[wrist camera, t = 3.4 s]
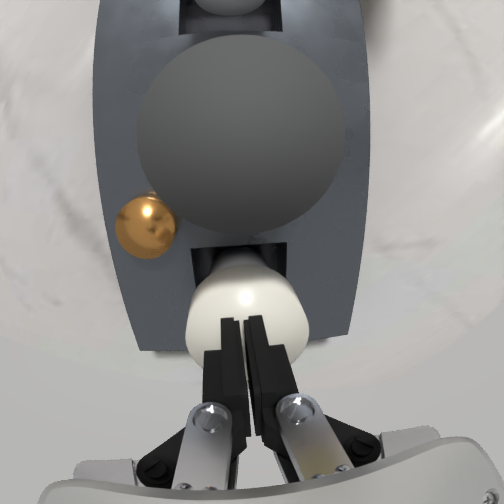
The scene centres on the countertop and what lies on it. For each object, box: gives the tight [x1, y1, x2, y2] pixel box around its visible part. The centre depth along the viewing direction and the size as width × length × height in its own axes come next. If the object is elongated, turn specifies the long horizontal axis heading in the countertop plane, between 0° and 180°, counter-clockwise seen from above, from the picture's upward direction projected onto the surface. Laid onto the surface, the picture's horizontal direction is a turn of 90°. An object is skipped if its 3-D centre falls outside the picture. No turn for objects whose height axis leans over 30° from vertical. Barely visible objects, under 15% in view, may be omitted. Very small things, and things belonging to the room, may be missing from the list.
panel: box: [93, 0, 370, 351], centre depth 13 cm, size 25×14×4 cm, turn 2°
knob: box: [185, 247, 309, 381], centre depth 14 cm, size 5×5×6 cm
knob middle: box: [137, 35, 345, 234], centre depth 9 cm, size 5×5×6 cm
